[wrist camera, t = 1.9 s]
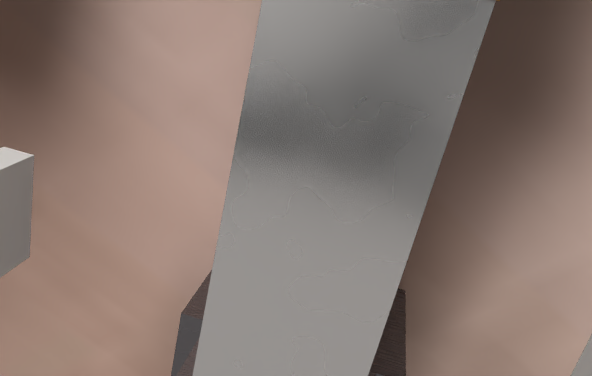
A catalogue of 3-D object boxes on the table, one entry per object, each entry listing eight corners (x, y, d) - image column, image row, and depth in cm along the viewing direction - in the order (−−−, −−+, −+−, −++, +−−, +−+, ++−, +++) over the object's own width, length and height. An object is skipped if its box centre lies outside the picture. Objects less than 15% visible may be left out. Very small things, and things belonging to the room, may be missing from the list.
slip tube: (493, -69, 12) (533, -96, 9) (290, 556, 20) (265, 683, 17) (321, -107, 13) (286, -150, 9) (189, 520, 21) (141, 637, 17)
